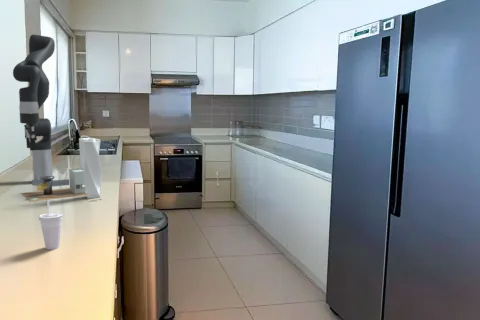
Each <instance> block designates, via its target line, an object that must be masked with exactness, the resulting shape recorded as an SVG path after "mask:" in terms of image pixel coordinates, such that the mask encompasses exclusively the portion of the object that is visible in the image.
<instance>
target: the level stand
mask: <svg viewBox="0 0 480 320" xmlns="http://www.w3.org/2000/svg"><path fill="white" fill-rule="evenodd" d="M68 174H69V175H68V176H69V178H68V179H69V188H70V191H72V192H73V193H75V194H80V193H86V190H85V178H84V171H83V170H81V169H80V168H70V169H68Z"/></svg>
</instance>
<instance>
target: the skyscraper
mask: <svg viewBox="0 0 480 320" xmlns="http://www.w3.org/2000/svg"><path fill="white" fill-rule="evenodd" d="M82 138H90V139H88V141H83V139H82ZM91 138H92V139H91ZM80 139H82V142H83V148H84V153H85V162H84V178H85V186H86V190H85V193H87V195H86V198H87V199H92V200H91V202H93V201H96V199H98V198H100V199H99V201H102V199H101V190H102V178H103V177H102V173H103V171H102V163H101V159H100V149H101V141H102V140H101V139H99V138H95V137H90V136H89V135H84V134H83V135H81V136H80ZM95 198H96V199H95Z"/></svg>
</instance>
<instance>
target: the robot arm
mask: <svg viewBox="0 0 480 320" xmlns="http://www.w3.org/2000/svg"><path fill="white" fill-rule="evenodd" d="M55 48H56V47H55V40H54V38H52V37H50V36H45V35H39V34H31V35H30V36H29V39H28V55H26V57H25V59H24V60H22V61H21V62H19V63H17V64H16V65H15V66H14V68H13V71H12V76H13V78H14V80H16V81H17V82H20V83H28V86H25V87H21V88H19V91H18V95H19V96H18V98H19V106H18V108H19V122H20V124H24V125H23V127H24V139H25V143H26V148H27V149H29V150H30V151H31V154H32V155H31V156H32V157H31V158H32V172H33V173H32V174H33V175H32V176H33V180H34V179H37V180H41V179H40V177H43V176H54V174H53V157H52V124H51V120H50V118H40V108H41V107H42V106H43V105H44V103H45V102H46V101H47V99H48V97H49V95H50V80H49V78H48V76H47V75H46V73H45V71H44V70H43V68H42V65H43V64H44V63H45V62H46V61H47V60H49V59H50V58H51V57H52V56H53V55H54V53H55ZM37 137H41V139H40V140H39V141H37V139H38V138H37ZM53 180H54V179H52V181H53Z"/></svg>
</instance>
